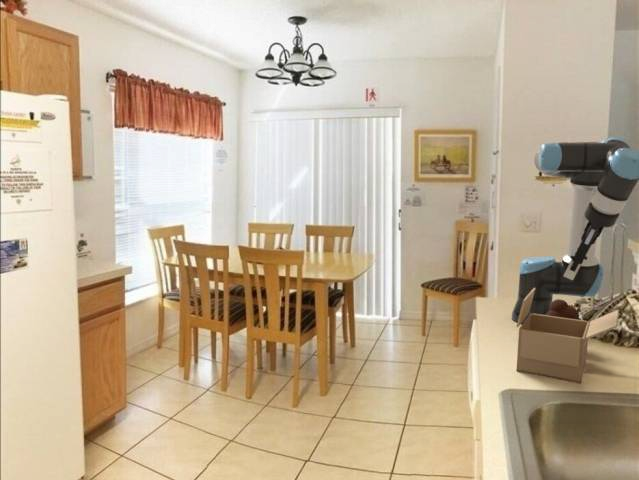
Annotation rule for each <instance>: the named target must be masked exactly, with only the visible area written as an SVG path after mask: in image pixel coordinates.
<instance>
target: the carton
mask: <svg viewBox="0 0 639 480" xmlns="http://www.w3.org/2000/svg"><path fill="white" fill-rule="evenodd" d="M589 325H590V321H587V320H583V319H581V320H576V319H569V318H562V317H555V316H547V315H540V314H530V315H529V316H528V317H527V319H526V320H525V321H524V323H523V324H521V325H520V326H519V327H518V328H519V329H518V341H517V356H516V357H517V358H516V372H519V373H525V374H529V375H530V374H531V375H536V376H541V377H545V378H549V379H550V378H551V379H557V380H560V381H567V382H570V383H571V382H572V383H577V384H581V383H582V382H583V381H582V380H583V376H584V373H585V368H586V365H587V357H588V345H589V339H586V336H587V332H588V329H589Z"/></svg>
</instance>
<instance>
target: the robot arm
mask: <svg viewBox="0 0 639 480" xmlns="http://www.w3.org/2000/svg"><path fill="white" fill-rule="evenodd" d="M534 165H535V167H536V169H537V170H538V171H539V172H540V173H542V174H544V175H547V176H551V177H554V178H556V177H557V178H563V179H564V178H570V181H569V183H570V184H571V185H572V186H573V189H574V191H573V198H572V207H571V208H572V209H571V219H570V228H569V229H570V230H569V237H568V249H567V253H566V254H564V255H563V256H562V259H561V261H557V260H556V258H555V257H551V256H535V257H527V258H524V259H523V260H522V261H521V262H520V264H519V265H520V266H519V271H518V274H519V279H518V293H517V300H516V301H515V304H514V307H513V310H512V312H511V320H512V321H514V322H515V323H517V322H518V318H519V315H520V311H521V307H522V303H523V300H524V299H525V297H526V296H527V295H528V294H529V293H530V292H531V290H532V289H533V288H536V289H535V292H534V296H533V300H532V304H531V308H530V311H529V314H528V315H527V316H526V318H525V319H524V320H523V322H522V323H521V324H520V325H522V324H523V323H524V321H525V320H526V319H527V317H528V316H529V315H530V314H540V315H546V314H547V312H548V311H550V304H551V303H552V302H553V298H554V297H553V296H554V295H559V296H560V295H561V296H571V297H580V298H586V297H589V298H590V297H591V298H592V297H595V296H596V295H598V293H599V292H600V290H601V287H602V283H603V277H604V267H603V265H602V264H601V263H600V260H599V259H598V258H597V256H596V251H597V250H596V248H597V241H598V238H599V237H600V236H601V234H602V231H603V230H604V228H611V227H613V226H614V225H615V224H616V222H617V220H618V219H619V216H620V214H621V212H623V209H624V208H625V205H626V204H627V202H628V200H629V198H630V196H631V194H632V192H634V189H635V187H636V186H637V183H638V182H639V151H638V150H636V149H632V148H631V146H630V145H629V144H628V143H627V142H626V140H625V139H623V138H621V137H616V136H611V137H609V138H606V139H603V140H602V141H601V142H600V141H587V142H584V141H583V142H581V141H579V142H577V141H576V142H549V143H548V142H545V143H543V144H541V145H540V148H539V149H538V151H537V152H536V153H535V156H534Z"/></svg>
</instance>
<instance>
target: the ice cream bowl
mask: <svg viewBox="0 0 639 480" xmlns="http://www.w3.org/2000/svg"><path fill="white" fill-rule="evenodd" d="M546 315H547V316H555V317H562V318H569V319H576V320H582V318H580V314H579V312H578V310H577V309H576V307H574V306H573V305H569V304H568V303H567V301H565V300H563V299H559V298H557V299H555V300H552V303H551V304H550V311H548V312H547V314H546Z"/></svg>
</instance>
